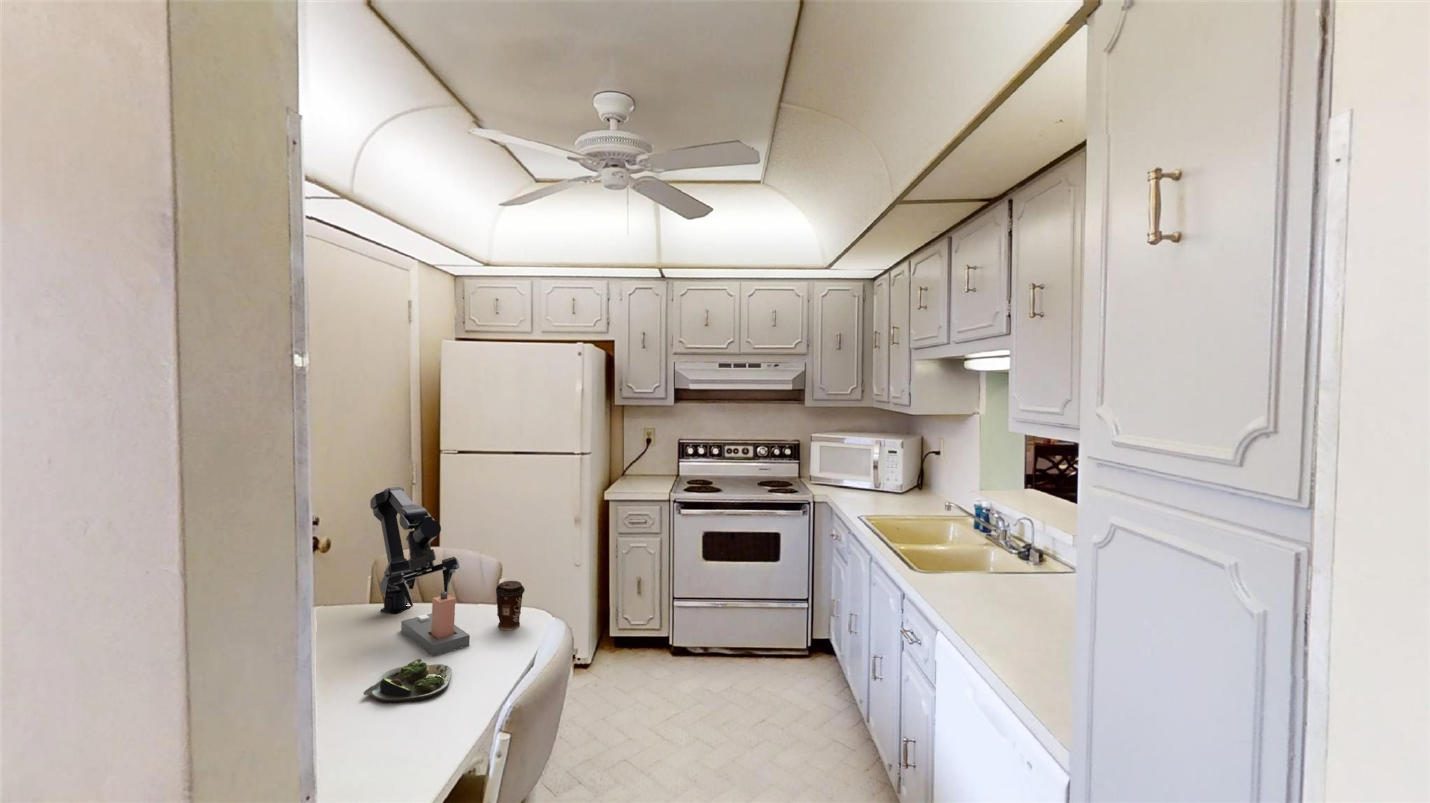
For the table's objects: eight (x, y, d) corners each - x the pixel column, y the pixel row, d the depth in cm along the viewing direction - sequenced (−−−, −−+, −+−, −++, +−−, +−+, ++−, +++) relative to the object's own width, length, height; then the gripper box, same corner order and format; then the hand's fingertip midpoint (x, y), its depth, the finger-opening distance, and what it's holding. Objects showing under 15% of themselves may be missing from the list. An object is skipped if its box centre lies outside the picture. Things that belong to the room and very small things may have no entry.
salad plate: (384, 667, 151) (385, 649, 151) (458, 663, 156) (459, 646, 156) (357, 708, 133) (358, 687, 133) (443, 702, 137) (443, 682, 137)
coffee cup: (487, 628, 177) (489, 585, 177) (504, 618, 185) (506, 577, 185) (512, 633, 175) (513, 590, 175) (528, 623, 183) (530, 581, 182)
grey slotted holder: (401, 630, 173) (401, 617, 173) (435, 621, 180) (436, 609, 180) (432, 656, 158) (433, 642, 158) (469, 645, 166) (469, 632, 166)
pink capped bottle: (430, 643, 166) (432, 592, 165) (446, 639, 169) (448, 589, 169) (437, 648, 163) (439, 596, 162) (453, 643, 166) (455, 593, 166)
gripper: (378, 553, 166) (387, 608, 161) (449, 533, 173) (459, 586, 167) (388, 561, 176) (396, 613, 170) (454, 542, 182) (464, 591, 177)
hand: (429, 600), depth 171 cm, fingers open, 9 cm apart
